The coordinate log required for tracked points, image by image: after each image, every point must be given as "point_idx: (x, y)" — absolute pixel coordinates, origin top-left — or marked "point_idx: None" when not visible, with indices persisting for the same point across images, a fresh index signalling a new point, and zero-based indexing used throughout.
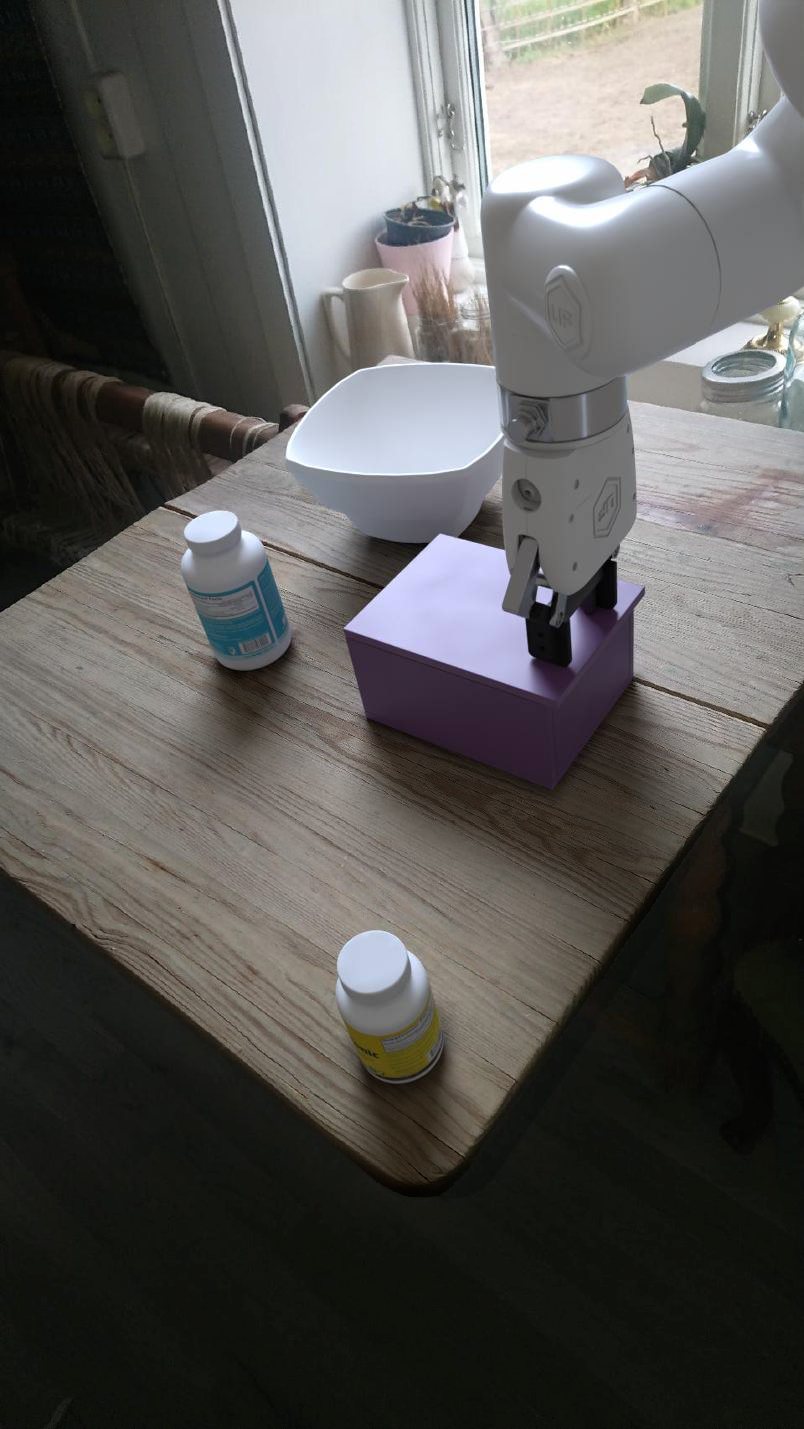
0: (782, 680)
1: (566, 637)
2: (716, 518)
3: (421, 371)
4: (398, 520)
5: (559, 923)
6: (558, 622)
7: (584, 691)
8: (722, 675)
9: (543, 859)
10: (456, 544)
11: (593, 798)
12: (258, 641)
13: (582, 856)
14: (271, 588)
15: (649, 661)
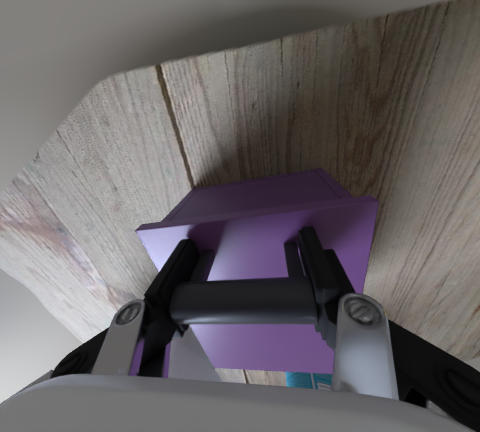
0: (107, 87)
1: (328, 261)
2: (50, 230)
3: None
4: (202, 355)
5: (472, 59)
6: (363, 304)
7: (266, 198)
8: (142, 136)
9: (395, 126)
10: (216, 358)
11: (313, 136)
12: None
13: (380, 99)
14: (303, 387)
15: (172, 189)
